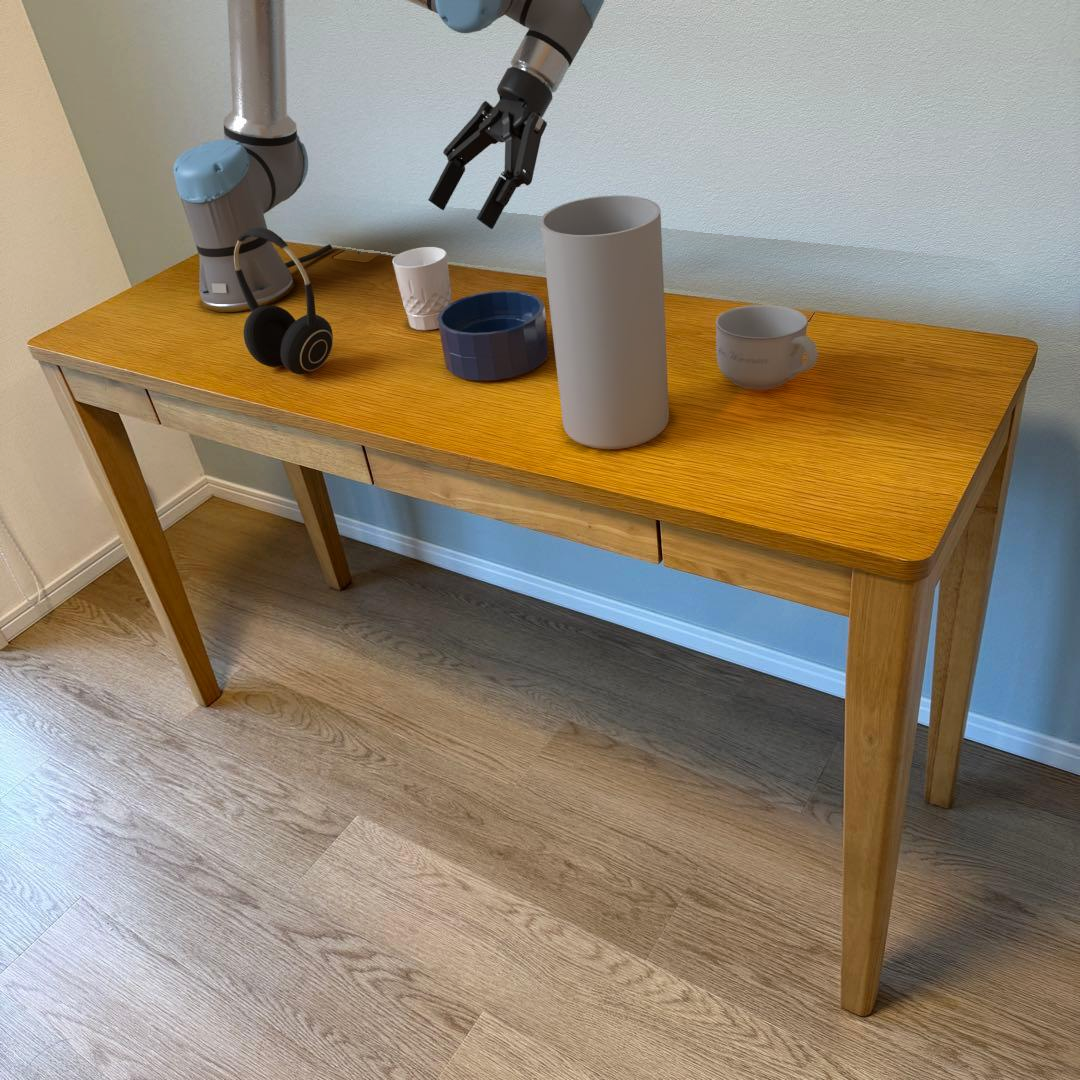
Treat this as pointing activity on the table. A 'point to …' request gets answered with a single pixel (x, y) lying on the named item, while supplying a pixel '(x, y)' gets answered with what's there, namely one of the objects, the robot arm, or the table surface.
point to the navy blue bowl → (494, 335)
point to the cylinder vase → (608, 318)
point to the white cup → (423, 285)
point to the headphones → (284, 323)
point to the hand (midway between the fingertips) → (459, 214)
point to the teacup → (763, 345)
